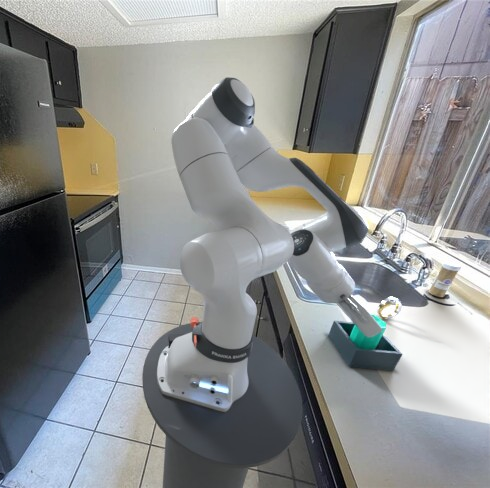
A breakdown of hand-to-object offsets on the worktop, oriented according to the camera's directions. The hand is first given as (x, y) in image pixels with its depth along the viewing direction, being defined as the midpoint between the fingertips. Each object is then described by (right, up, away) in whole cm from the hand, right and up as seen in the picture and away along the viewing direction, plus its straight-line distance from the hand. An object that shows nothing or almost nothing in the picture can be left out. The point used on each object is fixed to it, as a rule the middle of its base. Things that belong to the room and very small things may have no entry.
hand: (358, 319), depth 67 cm
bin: (+4, -11, +5) cm, 13 cm away
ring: (+23, -5, +19) cm, 31 cm away
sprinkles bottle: (+55, 0, +34) cm, 65 cm away
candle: (+4, -10, +5) cm, 12 cm away
